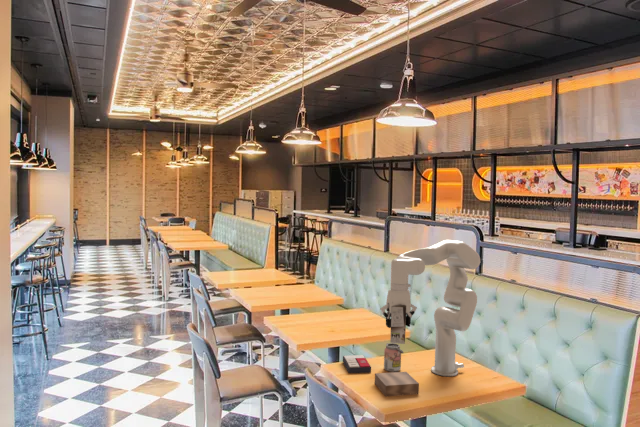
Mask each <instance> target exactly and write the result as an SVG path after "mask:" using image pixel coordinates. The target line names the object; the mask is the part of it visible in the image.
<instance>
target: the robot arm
mask: <svg viewBox="0 0 640 427" xmlns="http://www.w3.org/2000/svg"><path fill="white" fill-rule="evenodd" d="M445 260H446V262H447V266H448V268H449V272H450V273H449V279H448V283H447V284H446V285H447V286H446V288H445V291H444V296H443V300H444V302H445V303H446V304H447V305H449V306H445V305H444V306H442V305H441V306H439V307H437V308H436V309H435V310H434V314H433V319H434V320H433V321H434V325H435V326H434V327H435V344H434V346H435V347H434V348H435V350H434V366H432V367H431V368H430V369H431V370H430V371H431V372H432V373H433V374H435V375H438V376H441V377H455V376H458V374H459V370H458V369H461V368H465V365H464V363H459V362H457V361H456V350H457V349H456V347H457V346H456V344H457V336H456V332H455V330H456V331H458V332H465V331H467V330H468V329H469V328H470V327H471V323H472V320H473V318H474V314H475V312H476V311H475V310H476V308H477V305H478V304H477V303H478V296H477V292H475V290H472V289H470V288H467V285H468V274H467V272H466V270H465V269H468V270H475V269H477V268H478V267H479V266H480V264H481V257H480V255H479V253H478V252H477V251H476V250H475V249H474V248H472V246H470V245H468V244H467V243H466V242H464V241H460V240H456V239H455V240H452V239H444V240H441V241H439V242H436V243H434V244H432V245H430V246H428V247H423V248H418V249H414V250H409V251H406V252H404V253H401V254H400V255H398V256H397V257H396V258H393V259H392V260H391V265H390V266H391V267H390V270H391V271H390V289H388V291H387V296H386V302H385V303H386V304H384V305H383V306H382V307H380V309H379V310H380V312H381V314H382V315H383V316H384V317H385V326H386V327H387V328H388V329H391V310H392V306H401V305H406V327H409V328H410V327H411V324H412V322H411V321H412V317H413V316H414V314H415V312H416V311H417V309H418V308H417V306H415V305H414V304H413V303H412V302H411V293H410V290H409V288H411V286H412V285H411V283H409V276H419V275H421V274H423V273H424V272H425V269H426V266H434V265H438V264H439V263H441V262H443V261H445ZM450 306H453V307H450ZM454 307H456V308H454ZM457 308H459V309H457Z"/></svg>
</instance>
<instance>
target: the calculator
mask: <svg viewBox="0 0 640 427" xmlns="http://www.w3.org/2000/svg"><path fill="white" fill-rule="evenodd" d="M343 362H344V363H343ZM342 364H343V365H344V368H345V369H346V371H347V373H348V374H362V373H363V374H367V373H371V372H372V366H371V365H370V362H368V360H367V358H366V356H365V355H363V354H356V355H355V354H354V355H342Z"/></svg>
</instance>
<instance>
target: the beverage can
mask: <svg viewBox="0 0 640 427" xmlns="http://www.w3.org/2000/svg"><path fill="white" fill-rule="evenodd" d="M383 354H384V355H383V368H384V370H385V371H386V372H388V373H392V372H400V370H401V366H402V354H404V350H403V349H401V344H398V343H390V342H389V343H386V345H385V348H384V351H383Z"/></svg>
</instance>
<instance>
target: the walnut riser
mask: <svg viewBox="0 0 640 427" xmlns="http://www.w3.org/2000/svg"><path fill="white" fill-rule="evenodd" d="M374 385H375V386H376V387H377V389H378V390H379V391H380V392H381V393H382V394H383V395H384V397H398V396H410V395H411V396H413V395H419V394H420V392H419V391H420V383H419V382H418V381H417V380H416V379H415V378H414V377H413V376H411V375H410V373H408V372H407V371H398V372H379V373H378V372H377V373H376V372H375V373H374Z"/></svg>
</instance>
